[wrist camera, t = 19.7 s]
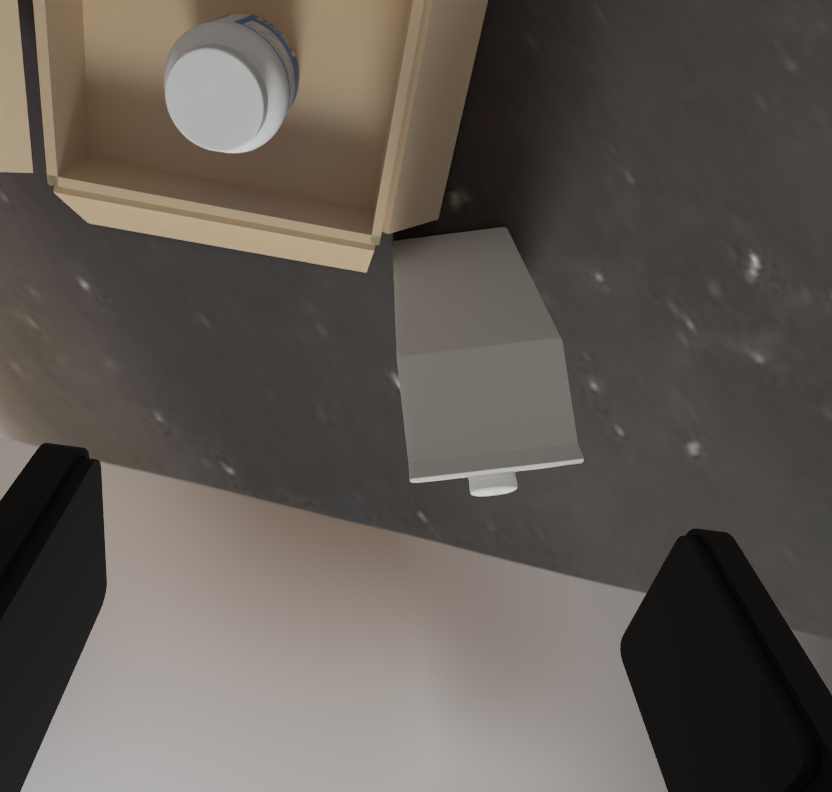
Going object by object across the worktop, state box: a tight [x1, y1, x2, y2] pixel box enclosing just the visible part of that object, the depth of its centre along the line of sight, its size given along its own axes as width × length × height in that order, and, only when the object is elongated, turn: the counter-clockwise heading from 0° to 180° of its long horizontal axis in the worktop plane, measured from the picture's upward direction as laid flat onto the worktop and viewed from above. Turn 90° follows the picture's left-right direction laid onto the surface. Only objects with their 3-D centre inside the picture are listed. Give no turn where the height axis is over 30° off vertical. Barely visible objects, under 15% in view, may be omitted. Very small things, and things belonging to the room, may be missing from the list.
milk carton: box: [392, 227, 584, 497], centre depth 35 cm, size 7×7×19 cm
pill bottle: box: [164, 14, 299, 153], centre depth 31 cm, size 6×5×10 cm
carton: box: [33, 0, 488, 273], centre depth 34 cm, size 20×20×5 cm
